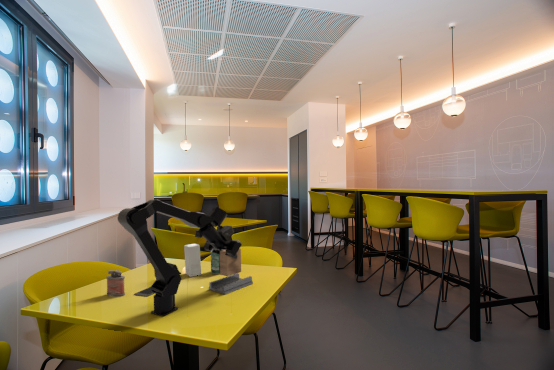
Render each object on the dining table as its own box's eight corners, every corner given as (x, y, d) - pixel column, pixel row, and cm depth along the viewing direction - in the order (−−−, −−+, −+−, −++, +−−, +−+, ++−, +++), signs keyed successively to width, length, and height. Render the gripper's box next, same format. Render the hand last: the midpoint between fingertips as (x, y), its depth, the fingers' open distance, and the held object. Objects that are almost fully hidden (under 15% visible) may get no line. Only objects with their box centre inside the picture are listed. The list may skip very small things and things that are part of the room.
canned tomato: (211, 270, 149) (210, 249, 149) (226, 269, 150) (226, 248, 151) (210, 274, 141) (210, 252, 141) (226, 273, 143) (226, 251, 143)
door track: (225, 294, 114) (224, 287, 114) (208, 289, 120) (208, 282, 120) (252, 283, 126) (252, 276, 126) (236, 279, 133) (236, 273, 133)
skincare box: (201, 275, 141) (200, 245, 141) (189, 277, 138) (188, 246, 138) (196, 271, 148) (195, 242, 148) (184, 273, 145) (183, 244, 145)
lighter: (127, 294, 117) (126, 269, 118) (120, 297, 114) (120, 272, 114) (111, 292, 120) (110, 268, 120) (104, 295, 116) (104, 271, 116)
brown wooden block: (227, 276, 119) (226, 252, 119) (220, 274, 121) (219, 251, 122) (241, 271, 125) (240, 249, 125) (234, 270, 128) (233, 247, 128)
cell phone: (133, 295, 116) (133, 293, 116) (158, 284, 129) (158, 283, 129) (147, 297, 114) (147, 295, 114) (171, 286, 127) (171, 284, 127)
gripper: (237, 221, 115) (257, 244, 123) (208, 219, 126) (228, 240, 135) (222, 243, 108) (244, 266, 117) (194, 239, 120) (215, 260, 128)
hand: (232, 257), depth 124 cm, fingers closed on brown wooden block, 4 cm apart
